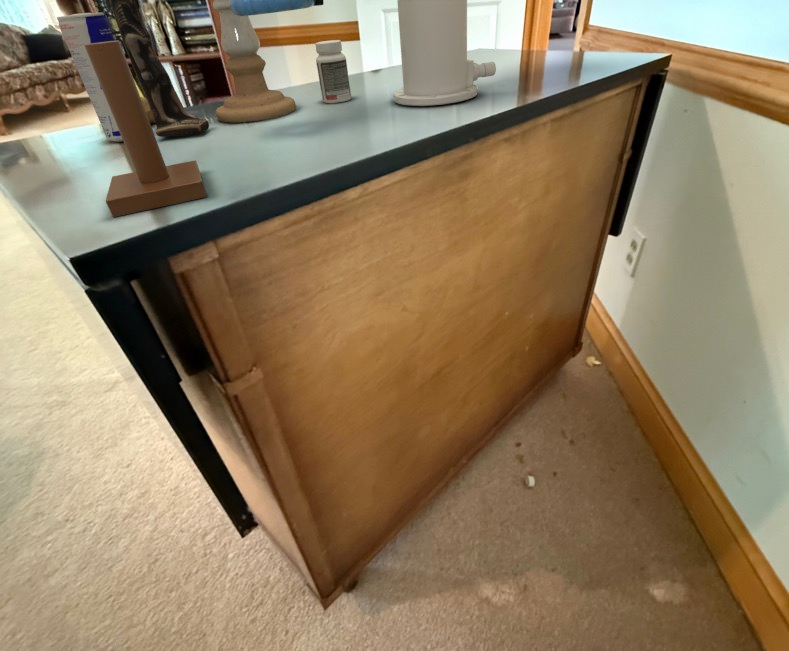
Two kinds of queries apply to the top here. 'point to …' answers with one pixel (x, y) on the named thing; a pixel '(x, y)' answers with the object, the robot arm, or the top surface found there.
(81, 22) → the white blue box
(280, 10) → the ring
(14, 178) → the top surface
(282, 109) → the candle holder
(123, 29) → the statue
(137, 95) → the brown upside-down t-shape
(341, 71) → the pill bottle
